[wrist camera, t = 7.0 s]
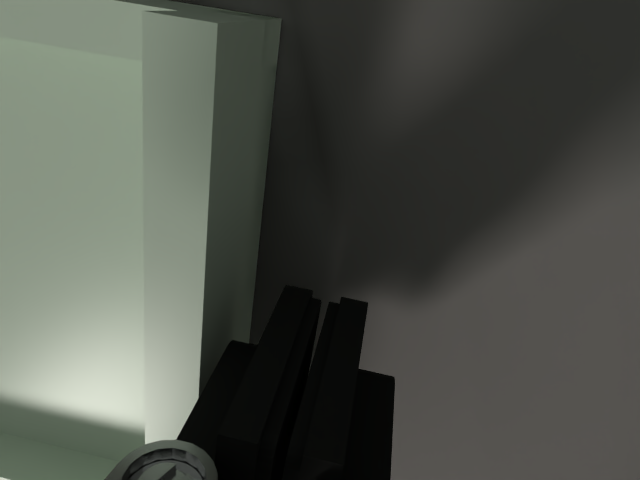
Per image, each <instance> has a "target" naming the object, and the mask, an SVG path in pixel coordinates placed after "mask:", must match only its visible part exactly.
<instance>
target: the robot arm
mask: <svg viewBox="0 0 640 480" xmlns="http://www.w3.org/2000/svg"><path fill="white" fill-rule="evenodd" d="M312 294H313V291H312V290H308V289H303V288H298V287H294V286H289V285H286V286H285V287H284V289H283V292H282V294H281V296H280V298H279V300H278V303H277V305H276V307H275V309H274V311H273V314H272V316H271V318H270V320H269V322H268V325H267V327H266V329H265V331H264V333H263V336H262V338H261V340H260V342H259V344H258V346H257V345H253V344H249V343H244V342H240V341H236V340H232V341H230V343H229V344H228V346H227V347H226V349H225V351H224V353H223V355H222V356H221V358H220V360H219V362H218V364H217V366H216V367H215V369H214V371H213V373H212V375H211V377H210V378H209V380H208V382H207V384H206V386H205V388H204V389H203V391H202V393H201V395H200V397H199V399H198V400H197V402H196V404H195V406H194V408H193V410H192V411H191V413H190V415H189V417H188V419H187V421H186V422H185V424H184V426H183V428H182V430H181V432H180V433H179V435H178V437H177V439H176V440H160V441H156V442H152V443H148V444H145V445H143V446H141V447H139V448H137V449H135V450H133V451H131V452H130V453H129V454H128V455H127V456H126V457H124V458H123V459H122V460H121V461H120V462H119V463H118V464H117V465H116V466H115V468H114V469H113V470H112V471H111V472H110V473H109V474H108V476H107V477H106V478H105V479H104V480H390V476H391V454H392V433H393V412H394V391H395V379H394V377H393V376H388V375H384V374H379V373H375V372H371V371H366V370H362V369H358V368H359V361H360V354H361V347H362V341H363V334H364V327H365V321H366V314H367V307H368V303H367V302H363V301H358V300H353V299H349V298H344V297H341V301H340V304H338V303H333V302H329V305H328V308H327V312H326V315H325V319H324V323H323V326H322V330H321V333H320V337H319V340H318V344H317V347H316V351H315V355H314V358H313V362H312V365H311V369H310V372H309V368H310V362H311V357H312V351H313V346H314V340H315V335H316V329H317V324H318V318H319V312H320V307H321V300H320V299H315V298H312ZM308 373H309V376H308Z"/></svg>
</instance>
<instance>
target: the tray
mask: <svg viewBox="0 0 640 480" xmlns="http://www.w3.org/2000/svg"><path fill="white" fill-rule="evenodd" d="M281 21H282V19H281V18H275V17H269V16H263V15H256V14H250V13H244V12H238V11H232V10H225V9H219V8H213V7H207V6H201V5H195V4H188V3H182V2H176V1H170V0H0V480H104V479H105V478H106V477H107V476H108V474H109V473H110V472H111V471H112V470H113V469H114V468H115V466H116V465H117V464H118V463H119V462H120V461H121V460H122V459H123V458H124V457H126V456H127V455H128V454H129V453H130V452H131V451H133V450H135V449H137V448H139V447H141V446H143V445H145V444H148V443H152V442H156V441H160V440H176V439H177V437H178V435H179V433H180V432H181V430H182V428H183V426H184V424H185V422H186V421H187V419H188V417H189V415H190V413H191V411H192V410H193V408H194V406H195V404H196V402H197V400H198V399H199V397H200V395H201V393H202V391H203V389H204V388H205V386H206V384H207V382H208V380H209V378H210V377H211V375H212V373H213V371H214V369H215V367H216V366H217V364H218V362H219V360H220V358H221V356H222V355H223V353H224V351H225V349H226V347H227V346H228V344H229V343H230V341H232V340H236V341H240V342H244V343H249V340H250V330H251V320H252V310H253V300H254V290H255V280H256V270H257V260H258V250H259V240H260V230H261V220H262V210H263V200H264V190H265V180H266V170H267V160H268V151H269V141H270V131H271V121H272V111H273V101H274V91H275V81H276V71H277V61H278V51H279V41H280V31H281Z"/></svg>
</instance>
